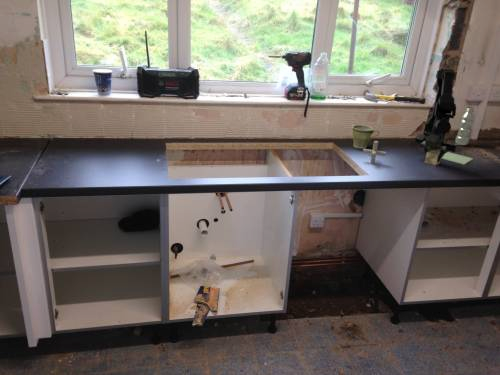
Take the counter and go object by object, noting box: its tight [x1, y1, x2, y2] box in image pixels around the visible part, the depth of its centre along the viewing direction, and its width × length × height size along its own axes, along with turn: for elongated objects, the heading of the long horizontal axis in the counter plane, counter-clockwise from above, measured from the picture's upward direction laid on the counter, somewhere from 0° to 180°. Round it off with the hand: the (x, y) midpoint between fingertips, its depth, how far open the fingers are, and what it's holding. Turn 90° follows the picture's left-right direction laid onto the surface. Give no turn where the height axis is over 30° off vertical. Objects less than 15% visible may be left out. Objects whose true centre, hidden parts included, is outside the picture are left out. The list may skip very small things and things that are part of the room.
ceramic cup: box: [352, 124, 380, 150], centre depth 212 cm, size 13×10×10 cm
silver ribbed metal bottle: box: [454, 106, 476, 146], centre depth 223 cm, size 6×7×20 cm
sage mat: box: [441, 151, 474, 166], centre depth 205 cm, size 12×12×1 cm
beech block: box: [424, 149, 441, 166], centre depth 197 cm, size 5×5×5 cm
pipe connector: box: [362, 140, 387, 164], centre depth 192 cm, size 10×10×10 cm
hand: (432, 160), depth 197 cm, fingers closed on beech block, 5 cm apart
